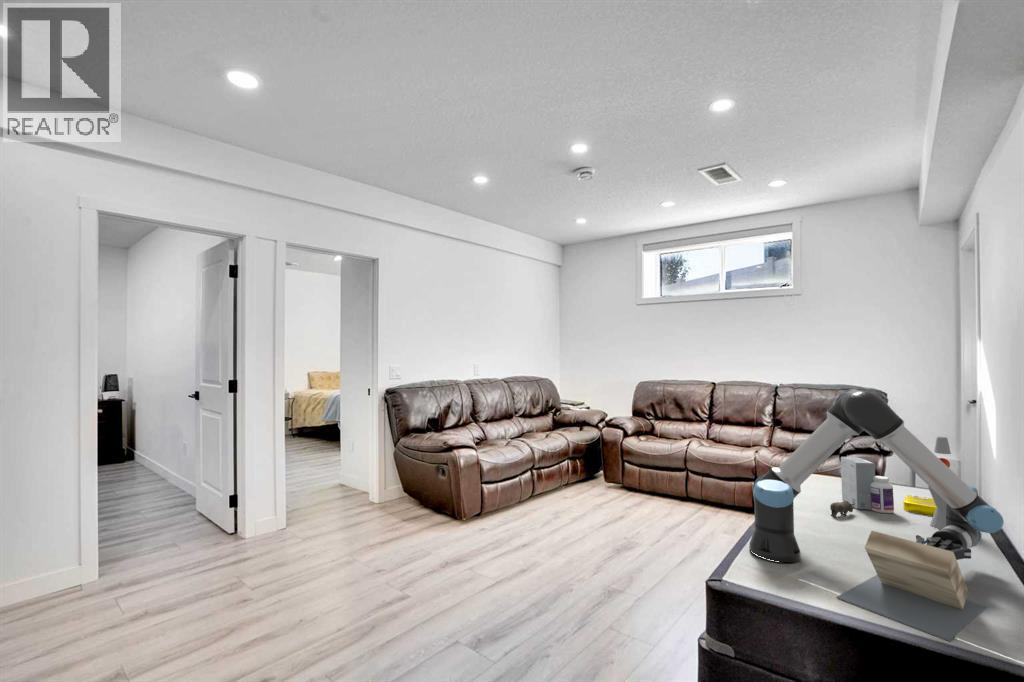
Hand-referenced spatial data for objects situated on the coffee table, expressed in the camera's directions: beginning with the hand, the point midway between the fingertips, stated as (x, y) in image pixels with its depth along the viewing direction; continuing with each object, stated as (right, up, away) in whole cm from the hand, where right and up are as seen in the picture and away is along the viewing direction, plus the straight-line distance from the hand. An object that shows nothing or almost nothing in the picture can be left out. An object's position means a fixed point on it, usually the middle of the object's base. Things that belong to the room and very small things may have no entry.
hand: (922, 558), depth 135 cm
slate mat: (-6, -10, -4) cm, 13 cm away
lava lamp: (+54, -12, +53) cm, 77 cm away
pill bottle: (+44, -13, +73) cm, 86 cm away
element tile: (+65, -13, +74) cm, 99 cm away
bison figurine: (+24, -13, +68) cm, 73 cm away
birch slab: (+1, -8, +1) cm, 8 cm away
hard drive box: (+41, -13, +81) cm, 92 cm away
